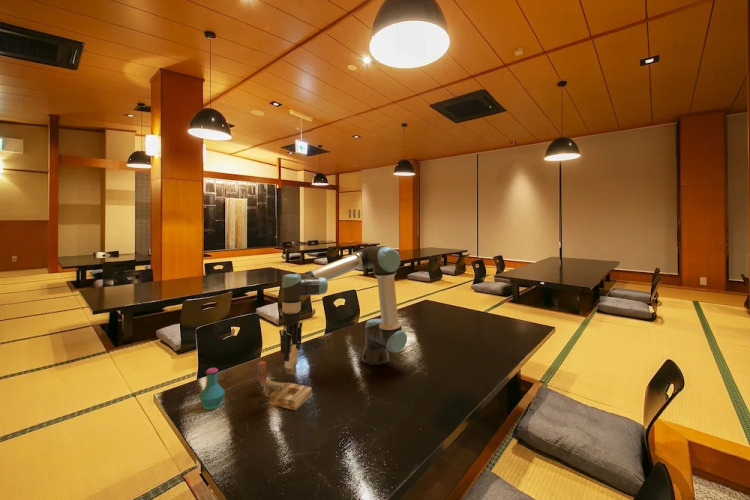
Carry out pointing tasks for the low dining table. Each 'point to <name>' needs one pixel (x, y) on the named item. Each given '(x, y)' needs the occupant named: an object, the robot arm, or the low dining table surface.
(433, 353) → the low dining table surface
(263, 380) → the pin
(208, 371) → the perfume bottle
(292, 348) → the tan rounded cylinder
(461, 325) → the low dining table surface
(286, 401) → the dock
